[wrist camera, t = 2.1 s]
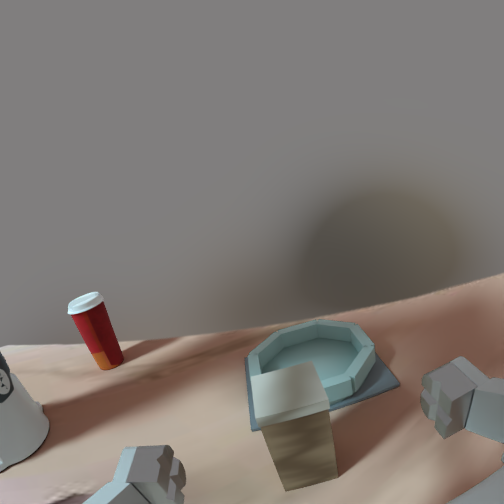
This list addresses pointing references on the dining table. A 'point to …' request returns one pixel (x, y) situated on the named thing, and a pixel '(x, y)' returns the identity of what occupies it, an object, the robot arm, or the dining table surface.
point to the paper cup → (96, 329)
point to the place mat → (373, 385)
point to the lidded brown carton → (296, 424)
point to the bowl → (319, 354)
